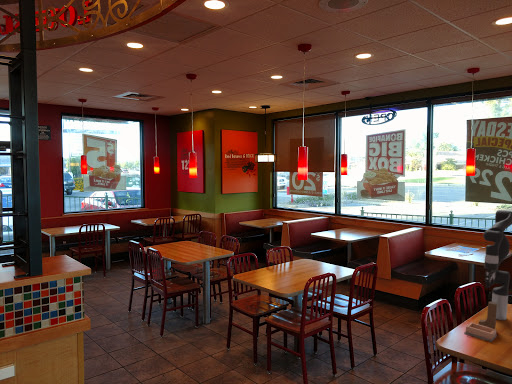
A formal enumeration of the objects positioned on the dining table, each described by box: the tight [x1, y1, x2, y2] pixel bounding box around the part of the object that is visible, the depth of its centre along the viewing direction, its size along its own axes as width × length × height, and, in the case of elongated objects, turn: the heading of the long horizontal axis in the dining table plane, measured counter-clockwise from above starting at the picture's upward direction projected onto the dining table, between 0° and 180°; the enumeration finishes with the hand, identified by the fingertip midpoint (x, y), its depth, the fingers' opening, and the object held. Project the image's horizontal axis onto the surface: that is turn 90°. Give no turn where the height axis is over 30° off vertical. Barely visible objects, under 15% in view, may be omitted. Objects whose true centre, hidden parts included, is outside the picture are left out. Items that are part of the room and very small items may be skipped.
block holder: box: [464, 322, 498, 343], centre depth 239 cm, size 12×15×4 cm
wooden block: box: [478, 301, 497, 329], centre depth 248 cm, size 9×4×18 cm, turn 51°
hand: (489, 286), depth 247 cm, fingers open, 8 cm apart
